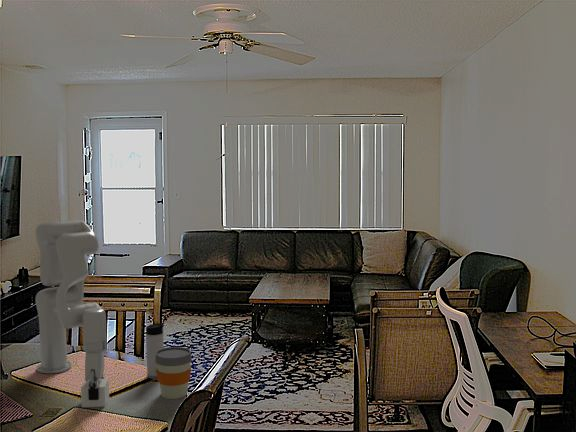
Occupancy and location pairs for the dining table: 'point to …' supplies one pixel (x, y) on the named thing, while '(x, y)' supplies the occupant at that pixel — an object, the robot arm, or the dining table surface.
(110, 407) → the dining table surface
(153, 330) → the travel mug
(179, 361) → the reusable coffee cup
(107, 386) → the white block
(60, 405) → the dining table surface
